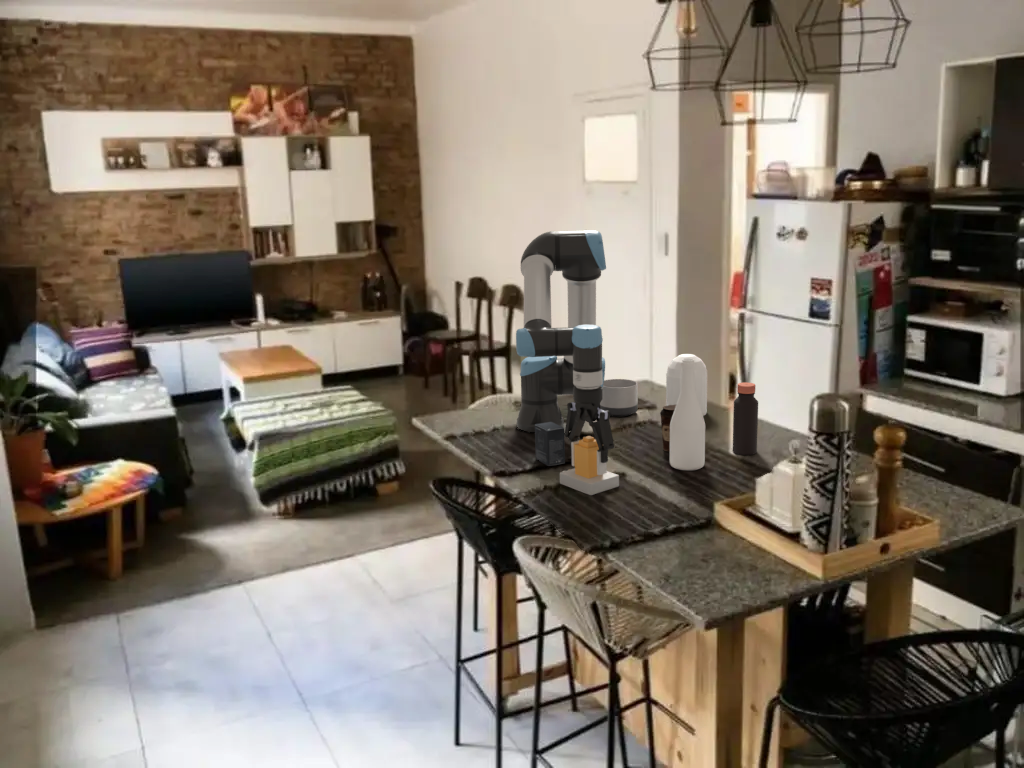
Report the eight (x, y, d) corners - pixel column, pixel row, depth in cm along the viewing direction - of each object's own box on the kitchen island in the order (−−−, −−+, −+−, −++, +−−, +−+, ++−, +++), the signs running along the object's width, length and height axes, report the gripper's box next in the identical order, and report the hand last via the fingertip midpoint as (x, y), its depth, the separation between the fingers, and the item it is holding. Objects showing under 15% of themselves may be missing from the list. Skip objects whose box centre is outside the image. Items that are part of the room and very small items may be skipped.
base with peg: (552, 480, 241) (551, 452, 240) (580, 472, 247) (580, 444, 245) (590, 495, 230) (590, 465, 228) (619, 486, 236) (618, 456, 234)
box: (565, 463, 255) (564, 427, 253) (547, 466, 253) (547, 430, 250) (552, 456, 262) (551, 420, 260) (535, 459, 260) (534, 423, 257)
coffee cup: (688, 455, 259) (689, 411, 255) (659, 454, 260) (659, 410, 257) (689, 445, 267) (689, 403, 264) (660, 445, 268) (660, 402, 265)
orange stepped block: (575, 473, 237) (574, 437, 235) (589, 469, 240) (589, 433, 238) (588, 478, 233) (587, 441, 231) (603, 474, 236) (602, 437, 234)
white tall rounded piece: (684, 473, 243) (685, 364, 236) (662, 464, 252) (663, 358, 244) (711, 467, 248) (713, 360, 240) (689, 458, 256) (691, 354, 249)
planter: (639, 418, 298) (639, 387, 295) (600, 419, 298) (600, 388, 295) (635, 408, 310) (635, 378, 308) (597, 409, 310) (597, 379, 308)
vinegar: (758, 449, 261) (760, 382, 256) (754, 456, 255) (756, 388, 250) (735, 447, 264) (736, 380, 259) (730, 454, 258) (731, 386, 253)
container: (665, 407, 310) (665, 350, 305) (705, 407, 308) (706, 349, 303) (666, 417, 297) (667, 358, 292) (708, 418, 295) (709, 358, 290)
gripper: (549, 381, 237) (551, 462, 243) (606, 395, 220) (607, 483, 226) (570, 376, 242) (572, 456, 247) (628, 390, 225) (628, 476, 230)
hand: (589, 469), depth 236 cm, fingers open, 9 cm apart
